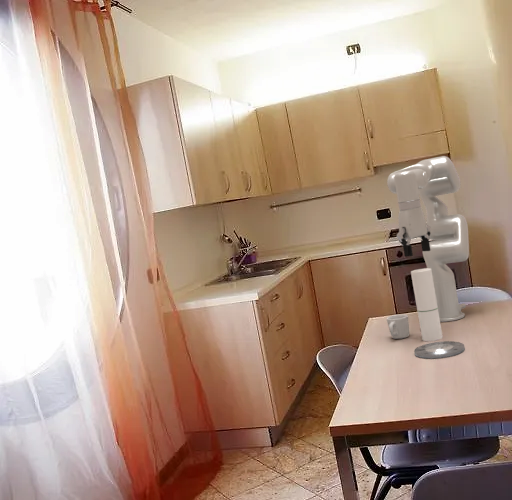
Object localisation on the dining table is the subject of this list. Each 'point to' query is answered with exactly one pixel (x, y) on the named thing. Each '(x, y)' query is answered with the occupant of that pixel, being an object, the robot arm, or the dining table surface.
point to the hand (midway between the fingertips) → (417, 253)
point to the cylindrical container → (426, 304)
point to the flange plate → (439, 350)
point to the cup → (398, 326)
